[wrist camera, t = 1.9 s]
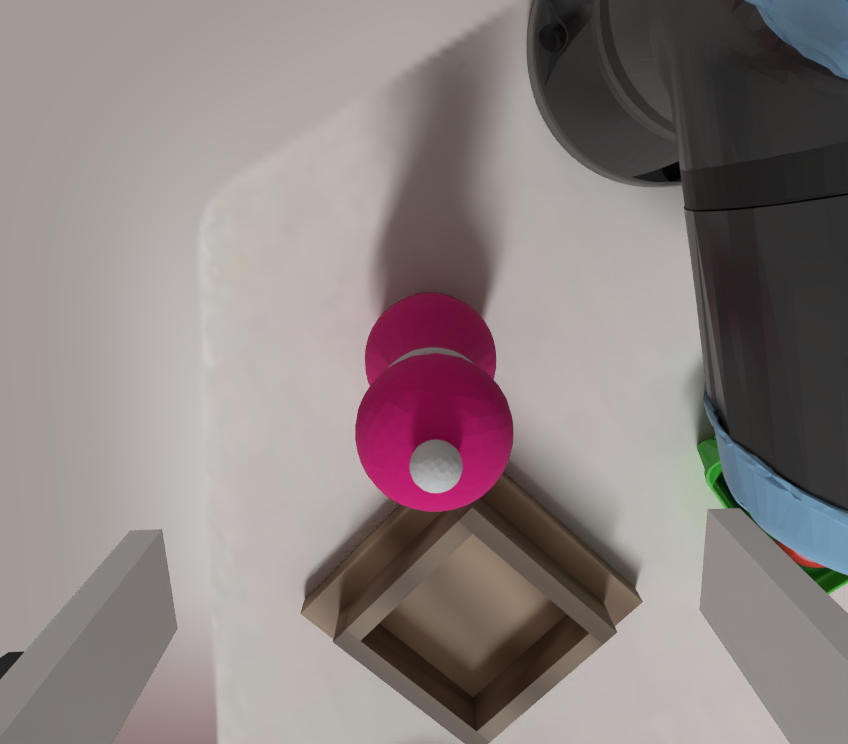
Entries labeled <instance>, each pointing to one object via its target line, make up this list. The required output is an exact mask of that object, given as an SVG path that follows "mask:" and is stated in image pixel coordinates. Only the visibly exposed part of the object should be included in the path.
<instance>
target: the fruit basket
mask: <svg viewBox="0 0 848 744" xmlns="http://www.w3.org/2000/svg"><path fill="white" fill-rule="evenodd" d="M697 449H698V452H699V455H700V457H701V460H702V463H703V465H704V468H705V478H706V482H707V484H708V486H709V487H710V488H711V490H712V491H713V492H714V494H715V495H716V497H717V498H718V499H719V501H720V502H721V503H722V505H723V506H724V508H725V509H731V508H740V509H741V510H742V511H743V512H744V513H745V514H746V515H747V516H748V517H749V518H750V519H751V520H752V521H753V522H754V523H755V524H756V525H757V526H758V527H759V528H760V529H761V530H762V531H764V530H763V529H762V528H761V527H760V526H759V525H758V524H757V522H756V521H755V520H754V519H753V518H752V516H751V515H750V513H749V512H748V511H747V510H745V509H744V508H743V507H742V506H741V505H740V504H739V503H737V501H736V500H735V498H734V497H733V495H732V493H731V492H730V490H729V487H728V485H727V483H726V481H725V478H724V475H723V471H722V467H721V461H720V456H719V451H718V445H717V440H716V435H714V436H713V438H712V439H708V440H705V441H702V442H701V443H700V444H699V445H698V446H697ZM764 532H765V531H764ZM765 533H766V534H767V535H768V536H769V537H770V538H771V539H772V540H773V541H774V542H775V543H776V544H777V545H778V546H779V547H780V548H781V549H782V550H783V551H784V552H785V553H786V554H787V555H788V556H789V557H790V558H791V559H792V560H793V561H794V562H795V563H796V564H797V565H798V566H799V567H800V568H801V569H802V570H804V571H805V572H806V573H807V574H808V575H809V576H810V577H811V578H812V579H813V580H814V581H815V582H816V583H817V584H818V585H819V586H820V587H821V588H822V589H823V590H824V591H825V592H826V593H827V594H828V595H829V594H830V593H832V592H834V591H835V590H836V589H838V588H840V587H842V586H843V585H845V584H847V583H848V575H845V574H843V573H840V572H837V571H834V570H832V569H830V568H827V567H825V566H823V565H821V564H819V563H816V562H814V561H812V560H810V559H808V558H806V557H804V556H802V555H801V554H799V553H797V552H795V551H794V550H792V549H790V548H789V547H787V546H785V545H784V544H782V543H781V542H779V541H778V540H776V539H775V538H774V537H772V536H771V535H769V534H768V533H767V532H765Z"/></svg>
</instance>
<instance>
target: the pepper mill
mask: <svg viewBox="0 0 848 744" xmlns="http://www.w3.org/2000/svg"><path fill="white" fill-rule="evenodd" d="M365 366H366V375H367V379H368V383H369V385H370V387H369V389H368V390H367V392H366V393H365V395H364V397H363V399H362V401H361V404H360V406H359V409H358V414H357V420H356V436H355V440H356V445H357V451H358V455H359V458H360V460H361V463H362V466H363V468H364V470H365V472H366V473H367V475H368V477H369V478H370V479H371V480H372V481H373V483H374V484H375V485H376V486H377V488H378V489H380V490H381V491H382V492H383V493H384V494H385V495H386V496H387V497H389V498H390V499H392V500H394V501H395V502H397V503H399V504H401V505H404V506H407V507H410V508H413V509H417V510H422V511H429V512H441V511H448V510H454V509H457V508H460V507H463V506H466V505H469V504H470V503H472V502H474V501H475V500H477V499H479V498H480V497H482V496H483V495H484V494H485V493H486V492H487V491H488V490H490V489H491V488H492V486H493V485H494V484H495V483H496V482H497V480H498V479H499V477H500V476H501V474H502V473H503V471H504V469H505V467H506V465H507V462H508V460H509V457H510V453H511V449H512V444H513V422H512V416H511V412H510V409H509V406H508V403H507V399H506V397H505V396H504V394H503V392H502V391H501V389H500V387H499V386H498V385H497V384H496V382H495V381H494V380H493V379H494V375H495V370H496V350H495V345H494V340H493V337H492V335H491V332H490V330H489V328H488V326H487V325H486V323H485V321H484V320H483V319H482V318H481V316H480V315H479V314H478V313H477V312H476V311H474V310H473V309H472V308H471V307H470V306H469V305H467V304H465V303H464V302H462V301H460V300H458V299H455V298H453V297H450V296H447V295H444V294H439V293H420V294H416V295H412V296H410V297H408V298H406V299H404V300H401V301H399V302H398V303H396V304H394V305H393V306H391V307H390V308H389V309H388V310H386V311H385V312H384V313H383V314H382V316H381V317H380V318H379V319H378V320H377V322H376V323H375V325H374V326H373V328H372V330H371V332H370V335H369V337H368V341H367V345H366V351H365Z"/></svg>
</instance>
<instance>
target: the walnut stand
mask: <svg viewBox="0 0 848 744" xmlns="http://www.w3.org/2000/svg"><path fill="white" fill-rule="evenodd" d="M642 602H643V601H642V600H641V598H640V596H639V594H638V592H637V590H636V589H635V588H634V587H633V586H632V585H631V584H630V583H629V582H627V581H626V580H625V579H624V578H623V577H622V576H621V575H619V574H618V573H617V572H616V571H615V570H614V569H613V568H612V567H610V566H609V565H608V564H607V563H606V562H605V561H604V560H603V559H601V558H600V557H599V556H598V555H597V554H596V553H595V552H594V551H592V550H591V549H590V548H589V547H588V546H587V545H586V544H584V543H583V542H582V541H581V540H580V539H579V538H578V537H577V536H575V535H574V534H573V533H572V532H571V531H570V530H569V529H568V528H566V527H565V526H564V525H563V524H562V523H561V522H560V521H558V520H557V519H556V518H555V517H554V516H553V515H552V514H551V513H549V512H548V511H547V510H546V509H545V508H544V507H543V506H542V505H540V504H539V503H538V502H537V501H536V500H535V499H534V498H532V497H531V496H530V495H529V494H528V493H527V492H526V491H525V490H523V489H522V488H521V487H520V486H519V485H518V484H517V483H516V482H514V481H513V480H512V479H511V478H510V477H509V476H508V475H507V474H505V473H504V472H503V473H502V474H501V476H500V477H499V479H498V480H497V482H496V483H495V484H494V485H493V486H492V488H491V489H490V490H488V491H487V492H486V493H485V494H484V495H483V496H482V497H480V498H479V499H477V500H475V501H474V502H472V503H470V504H469V505H466V506H463V507H460V508H457V509H454V510H448V511H441V512H429V511H422V510H417V509H413V508H410V507H407V506H404V505H401V504H400V505H399V506H398V507H397V508H396V509H395V510H394V511H393V512H392V513H391V514H390V515H389V516H388V517H387V518H386V519H385V520H384V521H383V522H382V523H381V524H380V525H379V526H378V527H377V528H376V529H375V530H374V531H373V532H372V533H371V534H370V535H369V536H368V537H367V538H366V539H365V540H364V541H363V542H362V543H361V544H360V545H359V546H358V547H357V548H356V549H355V550H354V551H353V552H352V553H351V554H350V555H349V556H348V557H347V558H346V559H345V560H344V561H343V562H342V563H341V564H340V565H339V566H338V567H337V568H336V569H335V570H334V571H333V572H332V573H331V574H330V575H329V576H328V577H327V578H326V579H325V580H324V581H323V582H322V583H321V584H320V585H319V586H318V587H317V588H316V589H315V590H314V591H313V592H312V593H311V594H310V595H309V596H308V597H307V598H306V599H305V600H304V603H303V607H302V610H301V614H302V615H303V616H304V617H306V618H307V619H308V620H309V621H311V622H312V623H313V624H315V625H316V626H317V627H319V628H320V629H321V630H322V631H324V632H325V633H326V634H328V635H329V636H330V637H332V638H333V642H334V643H335V644H336V645H338V646H339V647H340V648H341V649H343V650H344V651H345V652H347V653H348V654H349V655H350V656H352V657H353V658H354V659H356V660H357V661H358V662H360V663H361V664H362V665H363V666H365V667H366V668H367V669H369V670H370V671H371V672H373V673H374V674H375V675H376V676H378V677H379V678H380V679H382V680H383V681H384V682H386V683H387V684H388V685H389V686H391V687H392V688H393V689H395V690H396V691H397V692H399V693H400V694H401V695H402V696H404V697H405V698H406V699H408V700H409V701H410V702H411V703H413V704H414V705H415V706H417V707H418V708H419V709H421V710H422V711H423V712H424V713H426V714H427V715H428V716H430V717H431V718H432V719H434V720H435V721H436V722H437V723H439V724H440V725H441V726H443V727H444V728H445V729H447V730H448V731H449V732H450V733H452V734H453V735H454V736H456V737H457V738H458V739H460V740H461V741H462V742H463V743H465V744H488V743H489V742H491V741H492V740H493V739H494V738H495V737H496V736H498V735H499V734H500V733H501V732H502V731H503V730H505V729H506V728H507V727H508V726H509V725H510V724H511V723H513V722H514V721H515V720H516V719H517V718H518V717H520V716H521V715H522V714H523V713H524V712H525V711H527V710H528V709H529V708H530V707H531V706H532V705H533V704H535V703H536V702H537V701H538V700H539V699H540V698H542V697H543V696H544V695H545V694H546V693H547V692H549V691H550V690H551V689H552V688H553V687H554V686H556V685H557V684H558V683H559V682H560V681H561V680H562V679H564V678H565V677H566V676H567V675H568V674H569V673H571V672H572V671H573V670H574V669H575V668H576V667H578V666H579V665H580V664H581V663H582V662H583V661H584V660H586V659H587V658H588V657H589V656H590V655H591V654H593V653H594V652H595V651H596V650H597V649H598V648H600V647H601V646H602V645H603V644H604V643H605V642H607V641H608V640H609V639H610V638H611V637H612V636H613V635H615V634H616V633H617V631H616V629H615V625H617V624H618V623H619V622H620V621H621V620H622V619H623V618H625V617H626V616H627V615H628V614H629V613H630V612H632V611H633V610H634V609H635V608H636V607H637V606H638V605H640V604H641V603H642Z"/></svg>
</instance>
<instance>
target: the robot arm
mask: <svg viewBox="0 0 848 744" xmlns="http://www.w3.org/2000/svg"><path fill="white" fill-rule="evenodd" d="M527 64H528V72H529V78H530V83H531V88H532V91H533V95H534V98H535V101H536V104H537V106H538V109H539V111H540V113H541V115H542V117H543V119H544V121H545V123H546V125H547V127H548V128H549V130H550V131H551V133H552V134H553V136H554V137H555V138H556V140H557V141H558V142H559V143H560V144H561V146H562V147H563V148H564V149H565V150H566V151H567V152H568V153H569V154H570V155H571V156H572V157H573V158H575V159H576V160H577V161H578V162H580V163H581V164H582V165H584V166H585V167H587V168H588V169H590V170H592V171H593V172H595V173H597V174H599V175H601V176H603V177H605V178H608V179H611V180H613V181H617V182H620V183H624V184H628V185H633V186H642V187H665V186H679V185H682V187H683V195H684V202H685V207H684V212H685V219H686V227H687V234H688V242H689V249H690V256H691V264H692V271H693V279H694V286H695V294H696V302H697V311H698V320H699V328H700V337H701V345H702V354H703V362H704V371H705V379H706V382H705V390H704V405H705V409H706V413H707V416H708V418H709V420H710V422H711V425H712V426H713V428H714V429H715V435H716V440H717V445H718V451H719V456H720V461H721V467H722V471H723V475H724V478H725V481H726V483H727V485H728V487H729V490H730V492H731V493H732V495H733V497H734V498H735V500H736V501H737V503H739V504H740V505H741V506H742V507H743V508H744V509H745V510H747V511H748V512H749V513H750V515H751V516H752V518H753V519H754V520H755V521H756V522H757V524H758V525H759V526H760V527H761V528H762V529H763V530H764V531H765V532H767V533H768V534H769V535H771V536H772V537H774V538H775V539H776V540H778V541H779V542H781V543H782V544H784V545H785V546H787V547H789V548H790V549H792V550H794V551H795V552H797V553H799V554H801V555H802V556H804V557H806V558H808V559H810V560H812V561H814V562H816V563H819V564H821V565H823V566H825V567H827V568H830V569H832V570H834V571H837V572H840V573H843V574H845V575H848V0H534V3H533V6H532V10H531V15H530V19H529V26H528V35H527ZM764 531H762V530H761V529H760V528H759V527H758V526H757V525H756V524H755V523H754V522H753V521H752V520H751V519H750V518H749V517H748V516H747V515H746V514H745V513H744V512H743V511H742V510H741V509H740V508H731V509H708V511H707V523H706V536H705V548H704V561H703V573H702V586H701V598H700V611H701V612H702V614H703V615H704V617H705V618H706V620H707V621H708V623H709V624H710V626H711V627H712V629H713V630H714V632H715V633H716V635H717V636H718V638H719V639H720V641H721V642H722V644H723V645H724V647H725V648H726V649H727V651H728V652H729V654H730V655H731V657H732V658H733V660H734V661H735V663H736V664H737V666H738V667H739V669H740V670H741V672H742V673H743V675H744V676H745V678H746V679H747V681H748V682H749V684H750V685H751V686H752V688H753V689H754V691H755V692H756V694H757V695H758V697H759V698H760V700H761V701H762V703H763V704H764V706H765V707H766V709H767V710H768V712H769V713H770V715H771V716H772V718H773V719H774V720H775V722H776V723H777V725H778V726H779V728H780V729H781V731H782V732H783V734H784V735H785V737H786V738H787V740H788V741H789V743H790V744H848V613H847V612H846V611H845V610H843V609H842V608H841V607H840V606H839V605H838V604H837V603H836V602H835V601H834V600H833V599H832V598H831V597H830V596H829V595H828V594H827V593H826V592H825V591H824V590H823V589H822V588H821V587H820V586H819V585H818V584H817V583H816V582H815V581H814V580H813V579H812V578H811V577H810V576H809V575H808V574H807V573H806V572H805V571H804V570H802V569H801V568H800V567H799V566H798V565H797V564H796V563H795V562H794V561H793V560H792V559H791V558H790V557H789V556H788V555H787V554H786V553H785V552H784V551H783V550H782V549H781V548H780V547H779V546H778V545H777V544H776V543H775V542H774V541H773V540H772V539H771V538H770V537H769V536H768V535H767V534H766V533H765V532H764ZM176 630H177V623H176V617H175V610H174V603H173V597H172V590H171V584H170V578H169V571H168V565H167V558H166V552H165V546H164V540H163V533H162V530H135V531H130V532H129V533H128V534H127V535H126V536H125V537H124V538H123V540H122V541H121V542H120V543H119V544H118V545H117V547H116V548H115V549H114V550H113V551H112V552H111V553H110V555H109V556H108V557H107V558H106V559H105V560H104V561H103V563H102V564H101V565H100V566H99V567H98V568H97V569H96V571H95V572H94V573H93V574H92V575H91V576H90V578H89V579H88V580H87V581H86V582H85V583H84V584H83V585H82V587H81V588H80V589H79V590H78V591H77V592H76V594H75V595H74V596H73V597H72V598H71V599H70V600H69V601H68V603H67V604H66V605H65V606H64V607H63V608H62V610H61V611H60V612H59V613H58V614H57V615H56V616H55V618H54V619H53V620H52V621H51V622H50V623H49V625H48V626H47V627H46V628H45V629H44V630H43V631H42V632H41V634H40V635H39V636H38V637H37V638H36V639H35V640H34V642H33V643H32V644H31V645H30V646H29V647H28V649H27V650H26V651H25V652H8V653H7V654H5V655H4V656H2V657H1V658H0V744H112V743H113V742H114V740H115V738H116V736H117V735H118V732H119V731H120V729H121V727H122V726H123V724H124V722H125V720H126V719H127V717H128V715H129V713H130V711H131V710H132V708H133V706H134V704H135V703H136V701H137V699H138V697H139V696H140V694H141V692H142V690H143V688H144V687H145V685H146V683H147V681H148V680H149V678H150V676H151V674H152V673H153V671H154V669H155V667H156V666H157V664H158V662H159V660H160V658H161V657H162V655H163V653H164V651H165V650H166V648H167V646H168V644H169V642H170V641H171V639H172V637H173V635H174V634H175V632H176Z"/></svg>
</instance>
